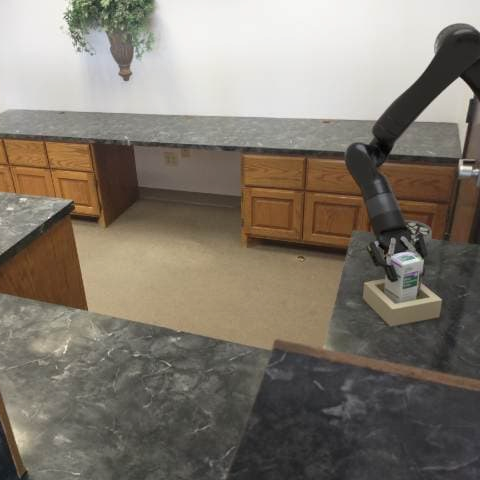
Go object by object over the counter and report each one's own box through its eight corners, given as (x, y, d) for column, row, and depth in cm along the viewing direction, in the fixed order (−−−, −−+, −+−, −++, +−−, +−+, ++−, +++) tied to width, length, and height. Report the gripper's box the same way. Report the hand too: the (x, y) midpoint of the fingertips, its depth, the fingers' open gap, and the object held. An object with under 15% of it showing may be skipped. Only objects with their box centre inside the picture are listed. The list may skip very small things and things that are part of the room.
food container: (434, 270, 140) (439, 237, 136) (410, 270, 141) (414, 238, 137) (421, 249, 151) (425, 218, 147) (398, 249, 152) (402, 219, 148)
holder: (362, 298, 132) (364, 282, 129) (407, 290, 133) (410, 274, 131) (390, 326, 120) (392, 309, 118) (439, 317, 122) (442, 299, 119)
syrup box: (398, 316, 124) (404, 265, 117) (381, 304, 129) (387, 254, 122) (417, 311, 125) (425, 259, 118) (401, 299, 130) (407, 248, 123)
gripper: (364, 213, 122) (387, 280, 117) (419, 204, 124) (444, 269, 118) (351, 225, 129) (372, 288, 124) (404, 216, 131) (427, 278, 125)
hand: (407, 278), depth 121 cm, fingers closed on syrup box, 6 cm apart
